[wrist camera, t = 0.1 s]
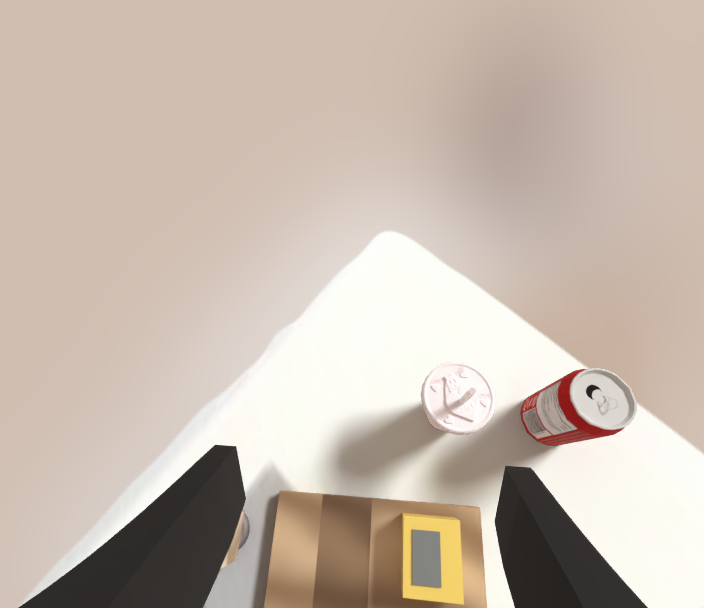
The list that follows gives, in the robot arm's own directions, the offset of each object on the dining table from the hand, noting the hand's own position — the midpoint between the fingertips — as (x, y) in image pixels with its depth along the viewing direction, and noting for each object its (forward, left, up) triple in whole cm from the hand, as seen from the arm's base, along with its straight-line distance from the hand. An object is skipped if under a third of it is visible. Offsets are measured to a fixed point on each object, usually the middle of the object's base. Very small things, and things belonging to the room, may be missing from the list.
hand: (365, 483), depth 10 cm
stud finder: (-6, -5, -30) cm, 31 cm away
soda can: (+7, -18, -32) cm, 37 cm away
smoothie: (+7, -7, -32) cm, 34 cm away
